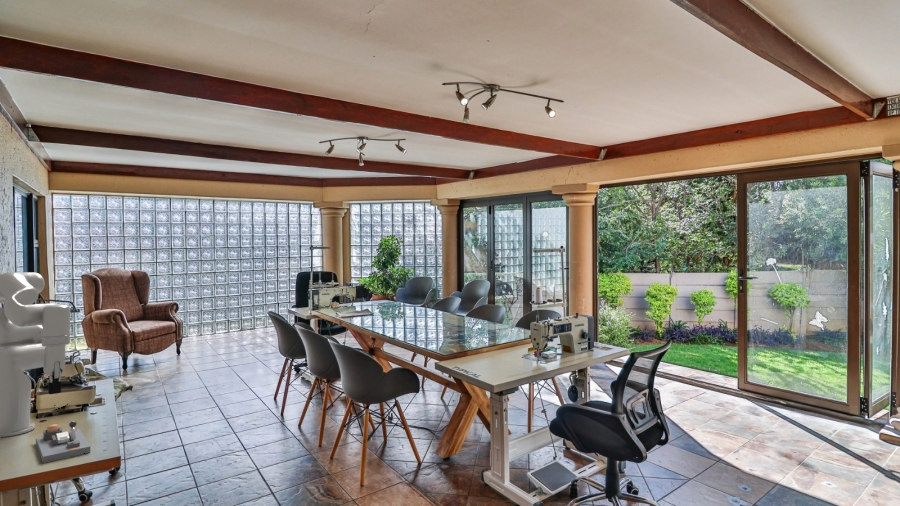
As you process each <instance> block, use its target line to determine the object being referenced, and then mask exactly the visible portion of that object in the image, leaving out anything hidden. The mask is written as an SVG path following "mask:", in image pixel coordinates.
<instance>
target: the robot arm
mask: <svg viewBox="0 0 900 506" xmlns="http://www.w3.org/2000/svg"><path fill="white" fill-rule="evenodd" d="M45 285H46V282H45V279H44V276H42V275H41V274H40V273H38V272H32V271H31V272H29V271H28V272H27V271H26V272H24V271H22V272H18V271H17V272H15V271H13V272H12V271H11V272H4V273H0V304H4V305H3V307H1V306H0V438H6V437H15V436H18V435H22V434H25V433H28V432H31V431H32V430H34V429H35V428H36V423H34V422H31V400H32V399H31V398H32V381H31V378H30V377H29V376H28V375H27V374H25V373H24V372H25V371H28V370H33V369H34V370H35V369H40V368H43V373H44V375H45V376H48V378H49V379H48V380H49V381H48V390H47V392H48V394H49V395H54V394H55V395H56V394H61V393H62V380H61V379H62V374H64V373H65V367H66V346H67V345H70V340H71V339H70V338H71V307H70V306H69V305H67V304H59V303H55V302H54V303H52V302H51V303H35V302H37V301H38V298H39V294H41V293H42V292H43V291H44V289H45Z"/></svg>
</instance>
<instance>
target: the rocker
mask: <svg viewBox="0 0 900 506" xmlns="http://www.w3.org/2000/svg"><path fill="white" fill-rule="evenodd" d="M68 431H69V430H68ZM68 431H62V433H57V434H56V438H57V442H58V443H63V442H68V441H69V439H70V438H69V434H68Z"/></svg>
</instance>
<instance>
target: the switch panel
mask: <svg viewBox="0 0 900 506" xmlns="http://www.w3.org/2000/svg"><path fill="white" fill-rule="evenodd" d="M62 432H63V429H62V427H59V426H58V431H55V432H50V433H47V429H44V430H43V432H42V433H43V436H38V437H37V436H36V437H35V445H36V449H37V450H38V453H39V456H40V459H41V462H42V463H43V464H45V463H50V462H54V461H58V460H62V459H67V458H71V456H72V457H75V456H80V454H81V455H85V454H89V452H90V453H91V445H90V443H89V441H88V440H87V438H86V437H85V435H84V433H83V432H82V431H81V429H80V428H78V429H75V433H76V439H74V440H71V430H68V434H69V438H70V439H69V441H68V442H63V443H58V442H57V438H56V434H57V433H62ZM84 453H85V454H84Z"/></svg>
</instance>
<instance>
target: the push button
mask: <svg viewBox="0 0 900 506" xmlns="http://www.w3.org/2000/svg"><path fill="white" fill-rule="evenodd" d="M46 428H47V429H46V430H47V433H50V432H55V431H58V428H59V424H57V423H55V424H53V423H52V424H50V425H47V426H46Z"/></svg>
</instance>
